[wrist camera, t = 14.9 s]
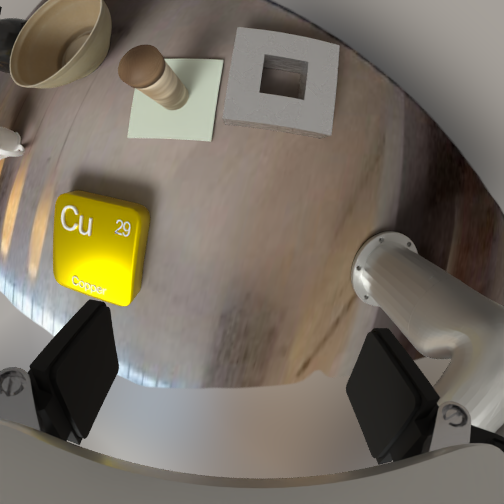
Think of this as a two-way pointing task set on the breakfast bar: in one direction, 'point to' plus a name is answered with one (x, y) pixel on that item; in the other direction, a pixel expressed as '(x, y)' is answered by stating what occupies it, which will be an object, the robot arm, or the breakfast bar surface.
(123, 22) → the breakfast bar surface
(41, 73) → the planter bowl
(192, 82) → the pad
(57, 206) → the element tile
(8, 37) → the dark grey egg shape
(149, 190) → the breakfast bar surface
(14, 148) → the cup
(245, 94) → the block
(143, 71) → the peg
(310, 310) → the breakfast bar surface
